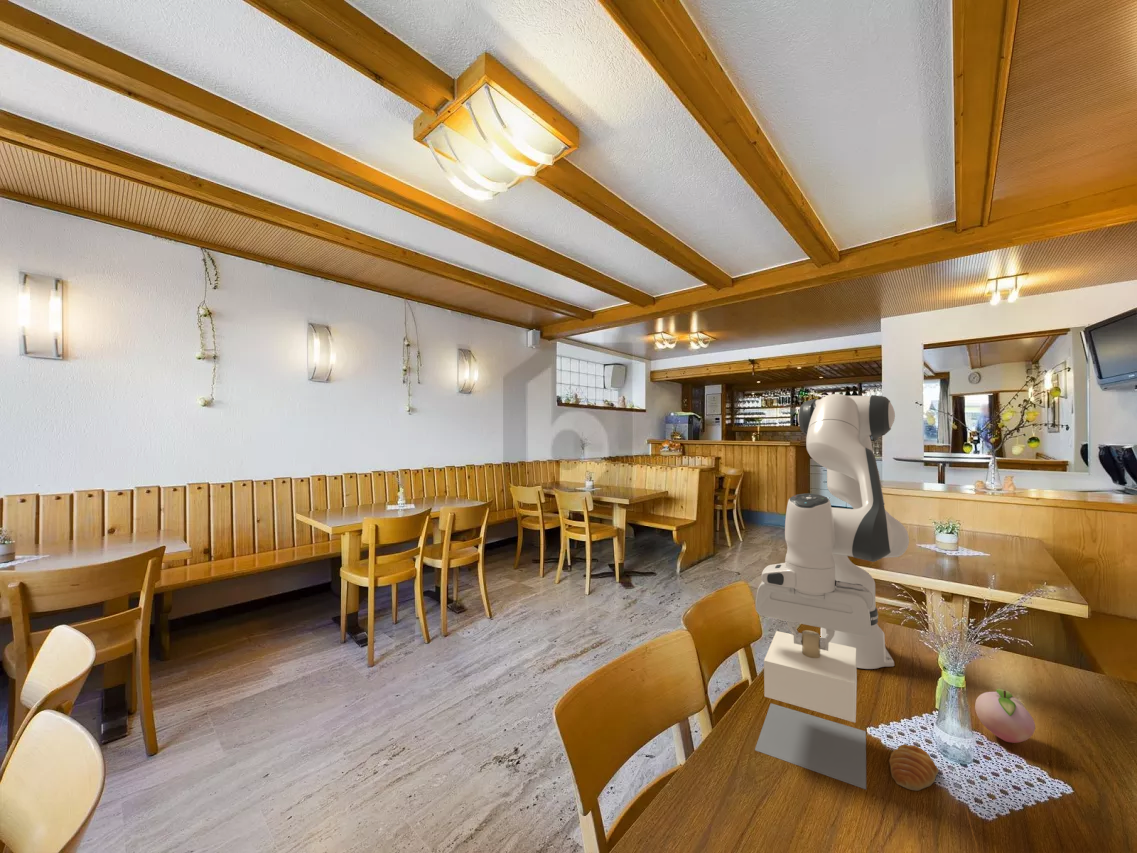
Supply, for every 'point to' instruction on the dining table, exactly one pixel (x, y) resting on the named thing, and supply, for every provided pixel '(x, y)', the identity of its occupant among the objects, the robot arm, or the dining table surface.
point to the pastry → (912, 767)
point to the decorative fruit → (1004, 716)
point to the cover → (812, 675)
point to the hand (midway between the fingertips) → (811, 646)
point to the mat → (815, 744)
